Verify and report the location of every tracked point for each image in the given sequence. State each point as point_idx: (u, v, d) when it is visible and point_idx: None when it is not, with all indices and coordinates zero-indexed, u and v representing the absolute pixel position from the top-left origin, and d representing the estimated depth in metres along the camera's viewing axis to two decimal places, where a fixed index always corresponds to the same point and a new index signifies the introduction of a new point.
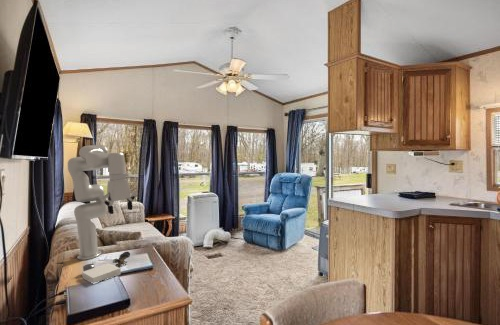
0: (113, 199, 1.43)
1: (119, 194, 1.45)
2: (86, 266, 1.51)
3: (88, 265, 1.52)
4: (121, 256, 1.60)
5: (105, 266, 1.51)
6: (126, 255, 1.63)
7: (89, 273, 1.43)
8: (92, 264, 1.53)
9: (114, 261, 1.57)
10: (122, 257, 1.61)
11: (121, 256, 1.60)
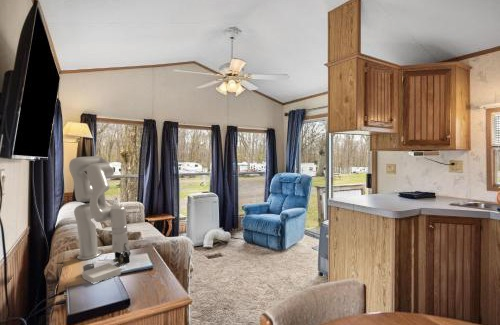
0: None
1: None
2: (86, 266, 1.51)
3: (88, 265, 1.52)
4: (121, 255, 1.61)
5: (105, 266, 1.51)
6: None
7: (89, 273, 1.43)
8: (92, 264, 1.53)
9: (114, 260, 1.58)
10: (122, 256, 1.62)
11: (122, 255, 1.62)
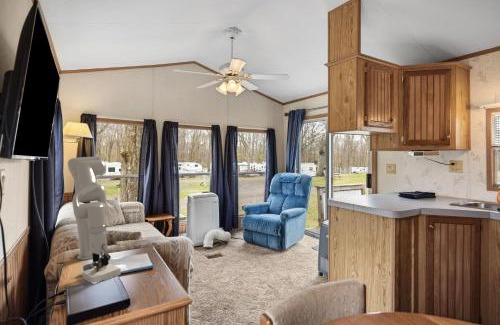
0: None
1: None
2: (86, 266, 1.51)
3: (88, 265, 1.52)
4: (100, 259, 1.48)
5: (105, 266, 1.51)
6: None
7: (89, 273, 1.43)
8: None
9: (92, 265, 1.45)
10: None
11: None
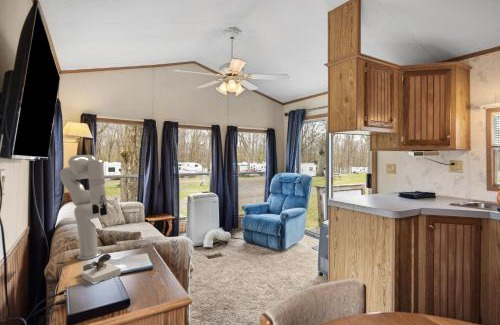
0: None
1: None
2: (86, 266, 1.51)
3: (88, 265, 1.52)
4: (100, 259, 1.49)
5: None
6: (106, 258, 1.51)
7: (89, 273, 1.43)
8: None
9: (92, 264, 1.46)
10: (102, 260, 1.49)
11: (101, 259, 1.49)
